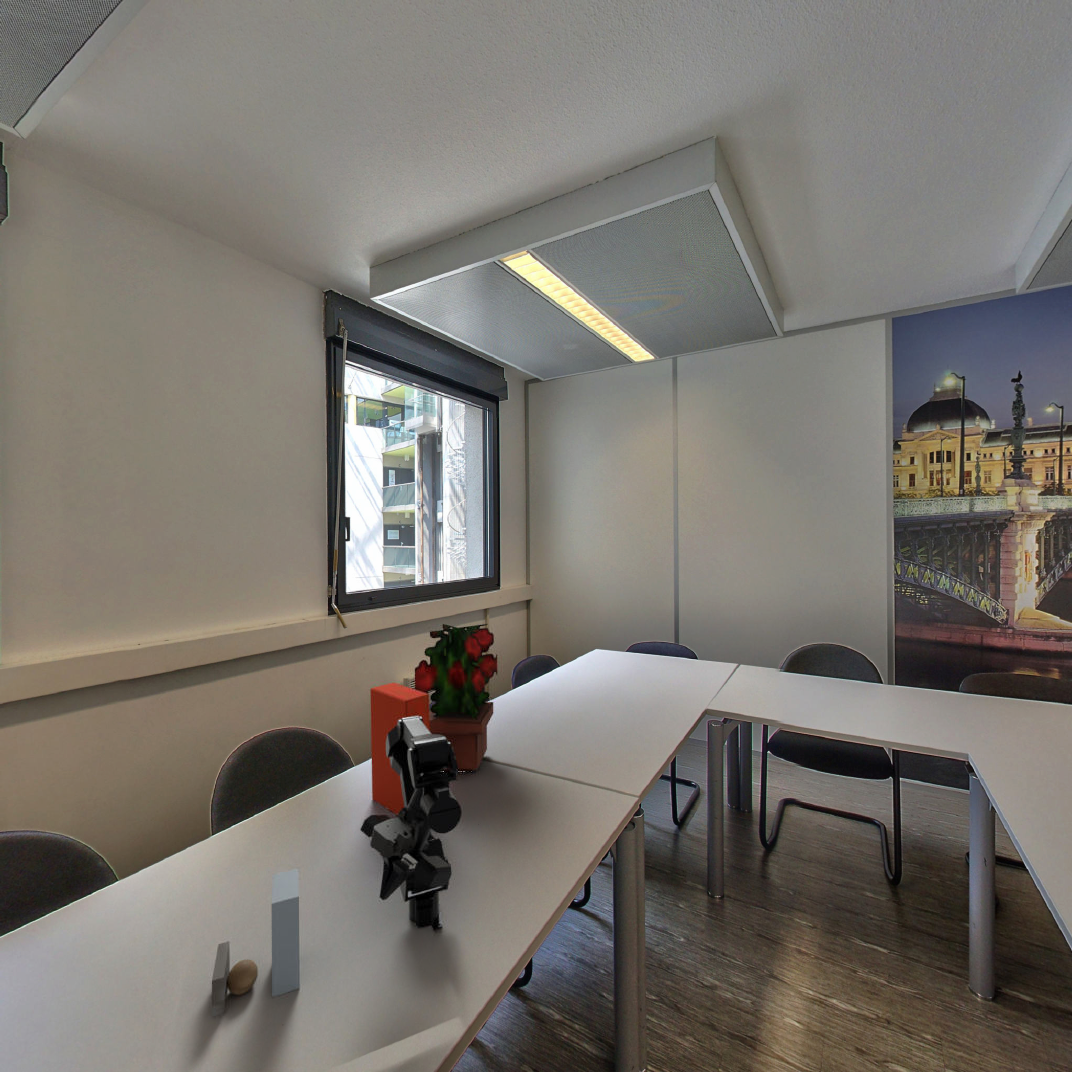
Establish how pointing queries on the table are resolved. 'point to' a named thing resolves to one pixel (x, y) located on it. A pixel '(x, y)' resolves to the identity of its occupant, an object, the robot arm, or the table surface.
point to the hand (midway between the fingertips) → (382, 898)
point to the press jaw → (285, 932)
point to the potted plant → (459, 690)
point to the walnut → (242, 977)
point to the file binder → (385, 714)
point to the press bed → (220, 979)
